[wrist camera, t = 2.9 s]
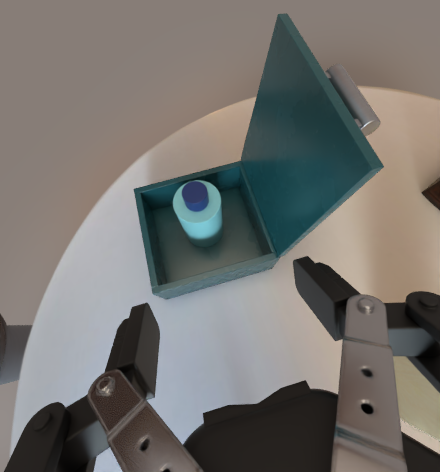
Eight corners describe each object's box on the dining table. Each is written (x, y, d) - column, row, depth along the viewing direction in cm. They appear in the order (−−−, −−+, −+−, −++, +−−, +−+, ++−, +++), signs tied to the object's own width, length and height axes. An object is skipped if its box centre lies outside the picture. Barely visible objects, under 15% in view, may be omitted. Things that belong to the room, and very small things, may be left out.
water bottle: (190, 251, 35) (174, 221, 25) (182, 218, 37) (164, 177, 27) (227, 241, 35) (226, 207, 25) (217, 208, 37) (212, 164, 27)
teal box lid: (372, 169, 13) (438, 155, 14) (277, 13, 18) (330, 11, 19) (278, 256, 28) (313, 247, 29) (240, 158, 33) (271, 153, 34)
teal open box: (166, 299, 34) (152, 294, 28) (148, 209, 39) (133, 188, 33) (272, 268, 35) (280, 257, 29) (241, 184, 39) (243, 160, 34)
